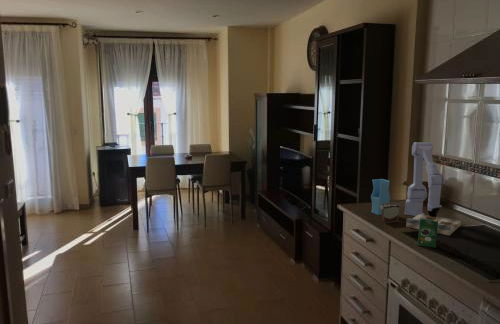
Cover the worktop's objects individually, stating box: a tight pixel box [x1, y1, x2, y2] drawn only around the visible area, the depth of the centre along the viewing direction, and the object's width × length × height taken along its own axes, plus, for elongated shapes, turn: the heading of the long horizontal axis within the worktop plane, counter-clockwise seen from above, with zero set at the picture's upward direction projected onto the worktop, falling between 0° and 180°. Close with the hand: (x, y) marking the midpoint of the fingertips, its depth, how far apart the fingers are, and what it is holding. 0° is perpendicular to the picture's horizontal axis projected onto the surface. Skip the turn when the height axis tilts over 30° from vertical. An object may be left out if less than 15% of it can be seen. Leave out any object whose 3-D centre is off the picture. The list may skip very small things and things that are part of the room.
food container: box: [380, 202, 401, 224], centre depth 237 cm, size 12×6×10 cm, turn 110°
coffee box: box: [417, 218, 438, 249], centre depth 197 cm, size 8×3×13 cm, turn 68°
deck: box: [405, 213, 462, 236], centre depth 228 cm, size 22×22×4 cm
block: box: [426, 216, 437, 220], centre depth 223 cm, size 4×4×4 cm
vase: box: [370, 178, 391, 216], centre depth 252 cm, size 8×8×20 cm
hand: (432, 221), depth 226 cm, fingers closed
